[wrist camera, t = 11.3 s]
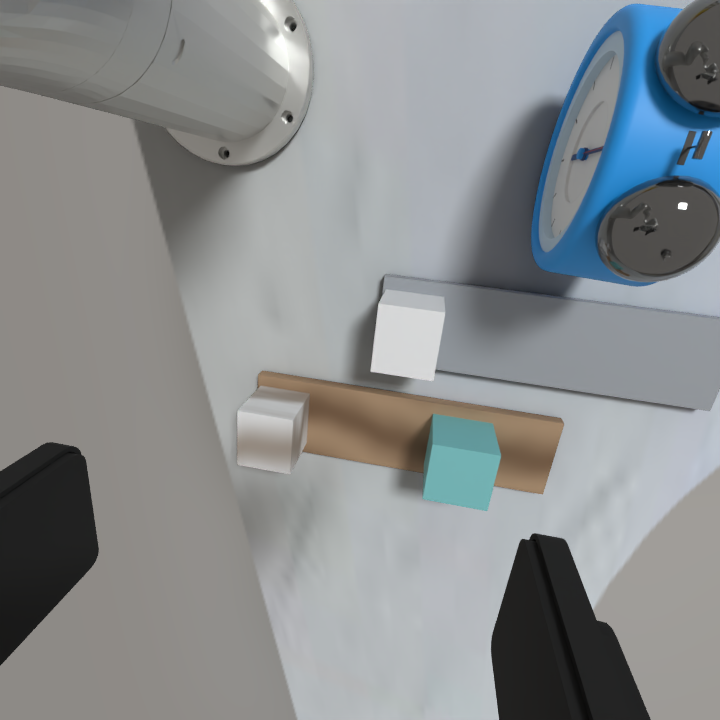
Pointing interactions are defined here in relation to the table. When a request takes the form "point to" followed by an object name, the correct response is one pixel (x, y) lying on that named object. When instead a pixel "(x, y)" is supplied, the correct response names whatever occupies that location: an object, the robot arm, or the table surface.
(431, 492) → the teal cube
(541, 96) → the table surface
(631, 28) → the alarm clock
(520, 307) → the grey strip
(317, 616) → the table surface
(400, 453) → the walnut strip
